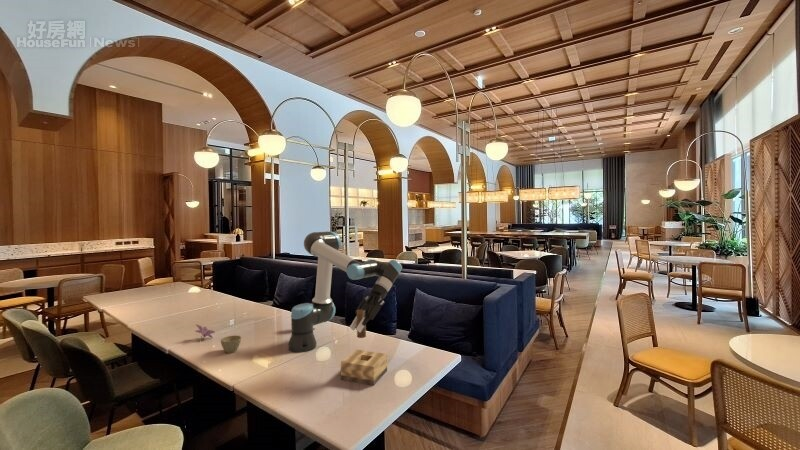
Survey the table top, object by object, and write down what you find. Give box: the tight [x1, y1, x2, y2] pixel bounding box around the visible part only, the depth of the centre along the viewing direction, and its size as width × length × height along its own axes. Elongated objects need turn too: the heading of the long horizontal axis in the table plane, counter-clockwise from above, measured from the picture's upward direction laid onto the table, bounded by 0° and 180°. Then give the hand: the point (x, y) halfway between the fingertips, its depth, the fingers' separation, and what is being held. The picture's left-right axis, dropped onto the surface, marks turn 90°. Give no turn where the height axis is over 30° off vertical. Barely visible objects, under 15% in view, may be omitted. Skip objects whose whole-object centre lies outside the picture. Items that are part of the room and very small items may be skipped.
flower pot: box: [220, 334, 242, 354], centre depth 184 cm, size 10×10×7 cm
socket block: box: [340, 349, 388, 386], centre depth 155 cm, size 16×15×8 cm
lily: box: [194, 323, 216, 343], centre depth 202 cm, size 12×12×10 cm
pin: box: [356, 309, 367, 339], centre depth 156 cm, size 4×4×12 cm
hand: (354, 329), depth 153 cm, fingers closed on pin, 4 cm apart
